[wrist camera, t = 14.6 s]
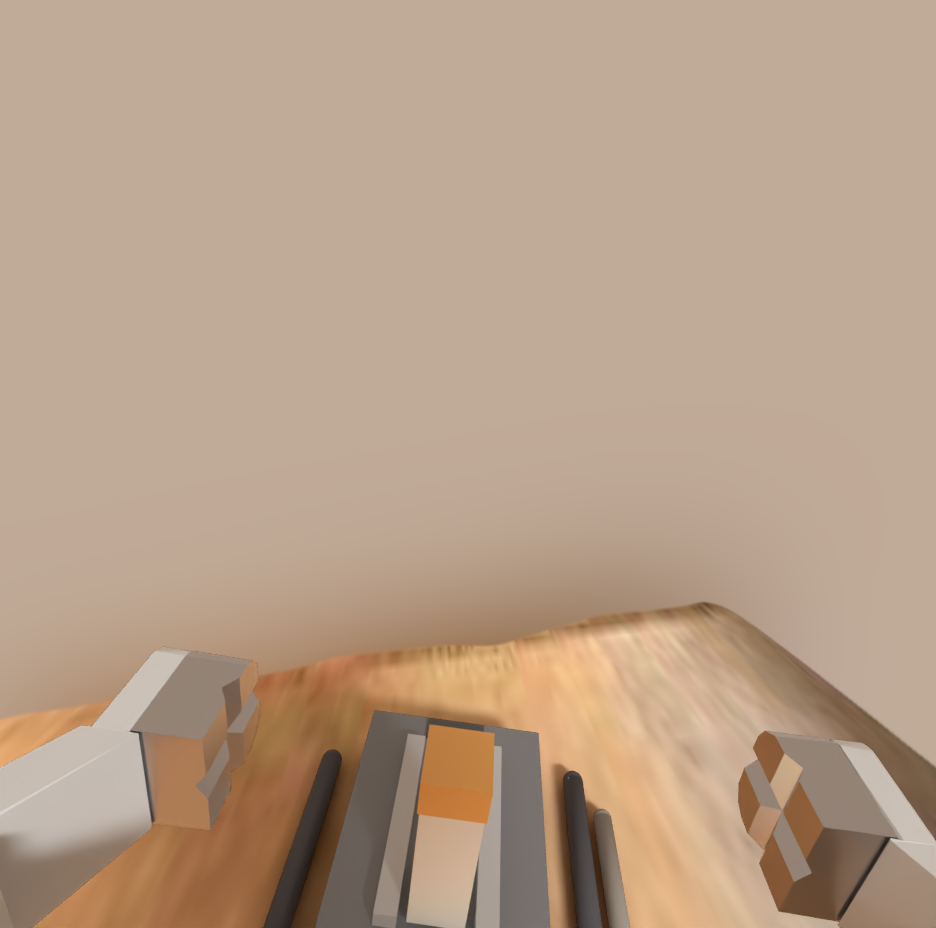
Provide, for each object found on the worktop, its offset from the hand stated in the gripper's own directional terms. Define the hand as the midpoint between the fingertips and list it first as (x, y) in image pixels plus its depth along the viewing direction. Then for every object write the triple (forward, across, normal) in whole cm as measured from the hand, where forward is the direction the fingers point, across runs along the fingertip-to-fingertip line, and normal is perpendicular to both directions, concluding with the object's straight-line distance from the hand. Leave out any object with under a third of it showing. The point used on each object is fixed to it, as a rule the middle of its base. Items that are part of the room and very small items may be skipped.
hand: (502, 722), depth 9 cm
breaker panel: (+16, 0, +30) cm, 34 cm away
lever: (+12, 0, +26) cm, 28 cm away
